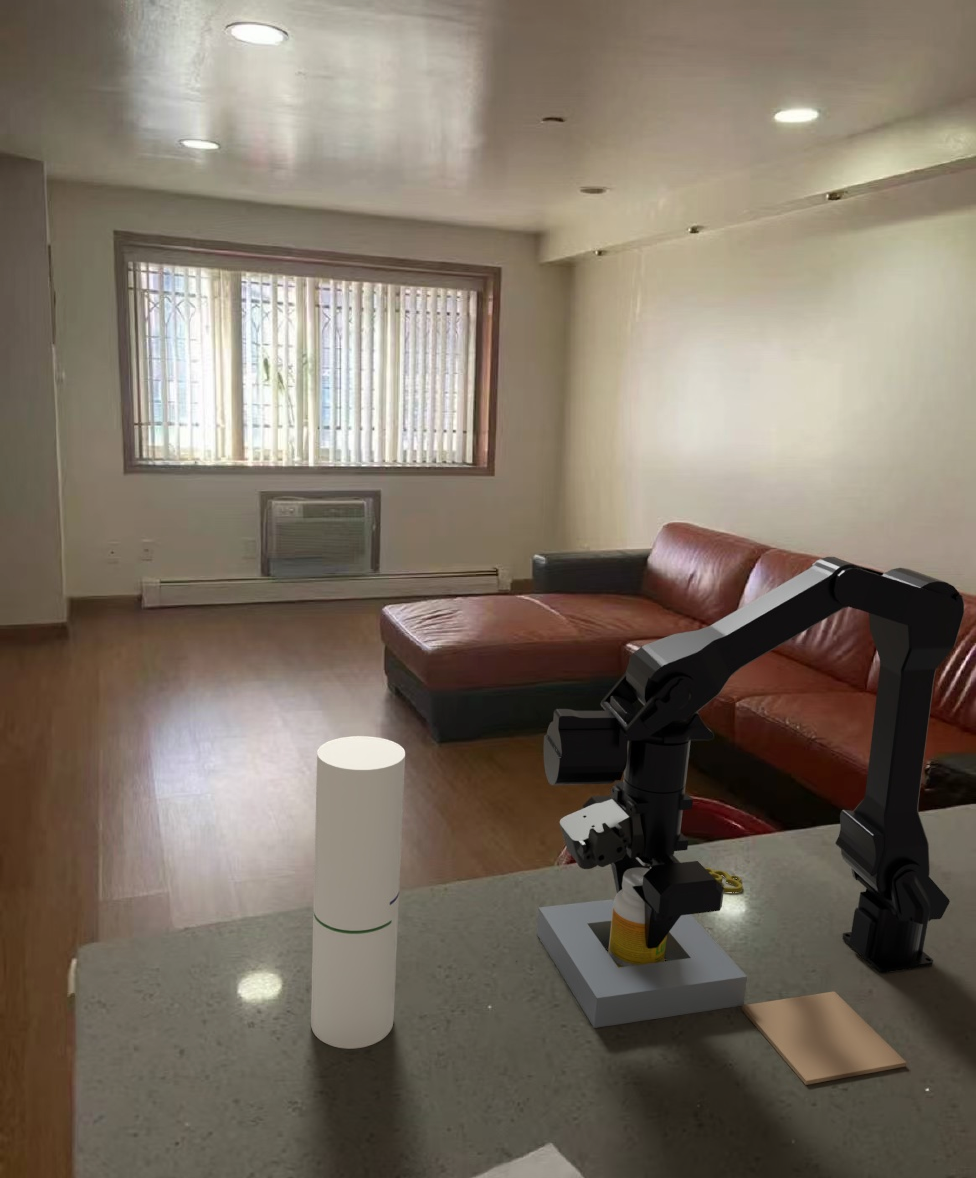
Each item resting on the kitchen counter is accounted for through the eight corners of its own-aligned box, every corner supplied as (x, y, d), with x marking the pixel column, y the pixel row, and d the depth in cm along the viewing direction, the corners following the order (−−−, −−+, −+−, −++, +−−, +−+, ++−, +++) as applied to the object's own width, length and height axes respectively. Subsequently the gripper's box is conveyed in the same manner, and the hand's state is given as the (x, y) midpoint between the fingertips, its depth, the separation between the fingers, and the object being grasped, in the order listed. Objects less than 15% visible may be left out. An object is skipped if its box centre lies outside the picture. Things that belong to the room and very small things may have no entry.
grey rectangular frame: (668, 917, 105) (671, 892, 105) (743, 1004, 91) (747, 976, 91) (536, 933, 101) (538, 907, 100) (594, 1027, 87) (596, 997, 86)
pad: (833, 994, 94) (834, 991, 94) (905, 1066, 84) (906, 1062, 84) (741, 1009, 91) (741, 1005, 91) (805, 1084, 81) (806, 1080, 81)
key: (668, 900, 107) (642, 878, 111) (667, 911, 107) (641, 888, 112) (753, 883, 112) (725, 862, 117) (752, 893, 112) (724, 872, 117)
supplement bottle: (662, 989, 93) (672, 895, 91) (604, 979, 94) (613, 886, 92) (663, 956, 98) (673, 868, 96) (609, 947, 99) (618, 859, 97)
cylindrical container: (406, 1007, 88) (418, 745, 83) (371, 1057, 81) (382, 776, 76) (335, 987, 90) (342, 730, 85) (295, 1034, 84) (300, 759, 78)
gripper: (539, 747, 98) (528, 889, 101) (616, 833, 81) (600, 1001, 84) (641, 741, 101) (627, 878, 105) (736, 822, 84) (715, 984, 87)
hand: (638, 930), depth 95 cm, fingers closed on supplement bottle, 5 cm apart
